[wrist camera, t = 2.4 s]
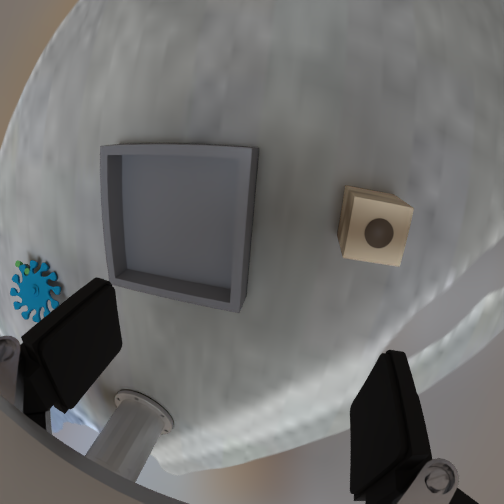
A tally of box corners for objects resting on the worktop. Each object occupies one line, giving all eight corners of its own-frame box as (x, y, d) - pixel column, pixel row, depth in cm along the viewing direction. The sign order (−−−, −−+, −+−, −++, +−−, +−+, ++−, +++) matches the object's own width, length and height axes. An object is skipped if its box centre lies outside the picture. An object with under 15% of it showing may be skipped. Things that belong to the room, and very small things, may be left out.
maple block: (383, 242, 27) (399, 267, 21) (337, 234, 28) (343, 258, 22) (393, 194, 25) (414, 208, 20) (345, 185, 26) (354, 196, 20)
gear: (69, 301, 37) (26, 334, 33) (77, 302, 43) (38, 331, 39) (38, 242, 37) (-3, 274, 33) (49, 249, 42) (11, 278, 38)
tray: (246, 296, 32) (239, 312, 29) (125, 271, 35) (109, 283, 31) (259, 147, 26) (252, 148, 23) (119, 144, 28) (100, 146, 25)
